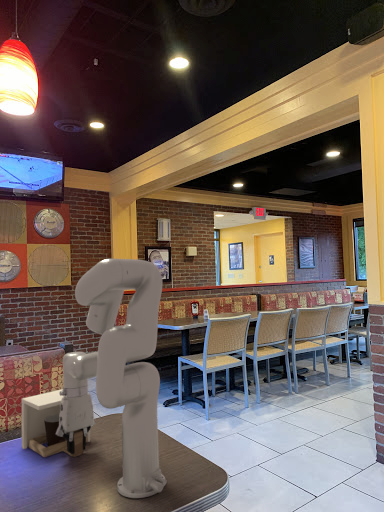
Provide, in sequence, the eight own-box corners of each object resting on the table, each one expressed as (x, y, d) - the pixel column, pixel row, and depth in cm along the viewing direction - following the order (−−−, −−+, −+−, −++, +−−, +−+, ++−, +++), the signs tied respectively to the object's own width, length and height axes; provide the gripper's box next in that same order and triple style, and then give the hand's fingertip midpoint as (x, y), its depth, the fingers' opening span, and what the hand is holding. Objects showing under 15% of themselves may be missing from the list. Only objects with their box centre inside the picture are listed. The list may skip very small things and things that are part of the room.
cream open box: (90, 441, 129) (89, 393, 131) (39, 459, 116) (38, 406, 118) (71, 431, 139) (70, 387, 140) (21, 447, 126) (21, 398, 127)
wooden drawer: (99, 447, 122) (99, 425, 123) (55, 464, 111) (55, 439, 112) (71, 433, 136) (70, 413, 137) (29, 447, 125) (28, 425, 126)
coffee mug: (51, 456, 118) (51, 423, 119) (39, 449, 124) (39, 418, 125) (84, 444, 126) (84, 414, 127) (71, 438, 132) (71, 409, 133)
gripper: (56, 399, 111) (57, 463, 109) (104, 387, 123) (105, 445, 121) (45, 395, 116) (46, 456, 115) (92, 384, 128) (93, 439, 126)
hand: (76, 450), depth 118 cm, fingers closed on wooden drawer, 3 cm apart
